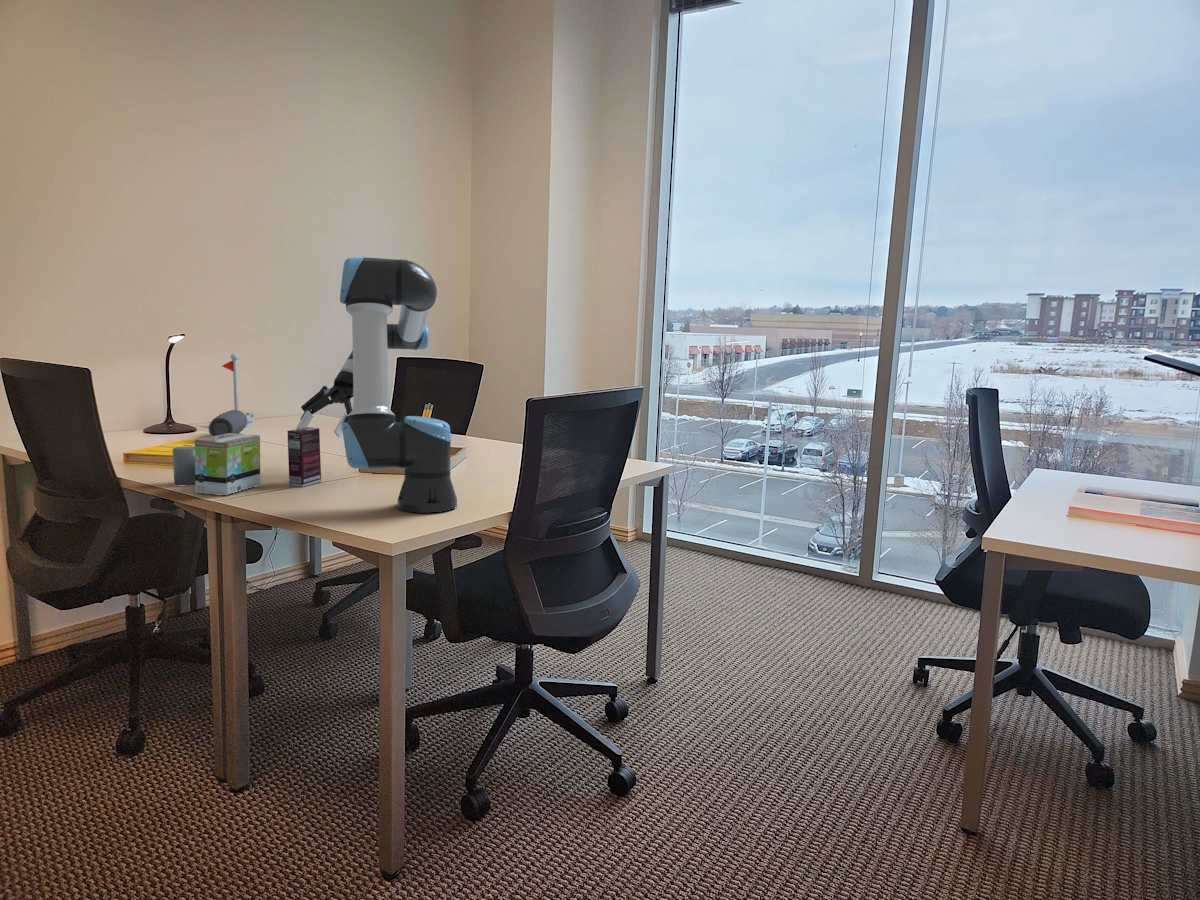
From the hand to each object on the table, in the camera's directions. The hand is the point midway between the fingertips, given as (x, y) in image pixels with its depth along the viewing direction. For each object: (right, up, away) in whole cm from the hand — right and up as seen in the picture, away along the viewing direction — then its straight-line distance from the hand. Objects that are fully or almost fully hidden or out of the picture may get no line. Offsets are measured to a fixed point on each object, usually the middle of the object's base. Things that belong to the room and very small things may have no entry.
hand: (318, 432), depth 242 cm
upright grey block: (-33, -14, -9) cm, 37 cm away
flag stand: (-65, +4, +96) cm, 116 cm away
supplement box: (-2, -15, -4) cm, 16 cm away
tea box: (-19, -16, -14) cm, 29 cm away
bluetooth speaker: (-56, -1, +68) cm, 88 cm away
